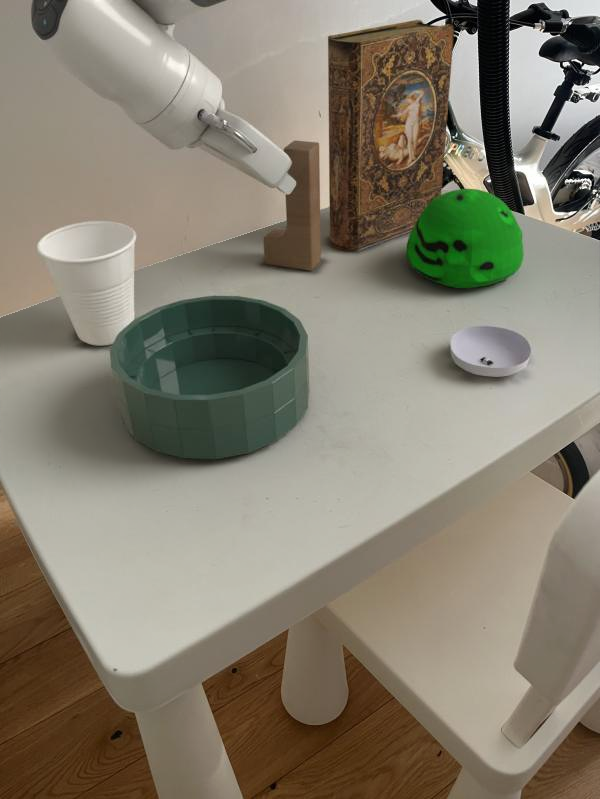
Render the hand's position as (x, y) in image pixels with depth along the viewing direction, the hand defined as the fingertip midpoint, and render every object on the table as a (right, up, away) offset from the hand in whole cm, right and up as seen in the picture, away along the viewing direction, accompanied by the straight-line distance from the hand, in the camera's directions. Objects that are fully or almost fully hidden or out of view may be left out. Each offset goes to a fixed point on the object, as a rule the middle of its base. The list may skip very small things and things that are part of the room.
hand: (268, 176), depth 86 cm
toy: (+24, -10, +5) cm, 26 cm away
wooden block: (+3, -9, +8) cm, 12 cm away
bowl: (-4, -27, -16) cm, 31 cm away
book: (+15, -3, +16) cm, 22 cm away
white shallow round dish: (+23, -22, -11) cm, 34 cm away
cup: (-18, -19, -4) cm, 26 cm away
